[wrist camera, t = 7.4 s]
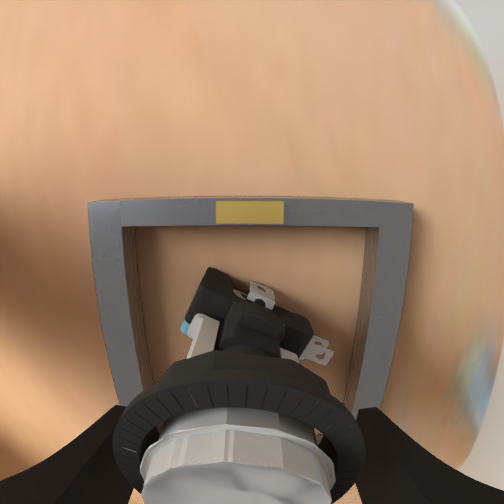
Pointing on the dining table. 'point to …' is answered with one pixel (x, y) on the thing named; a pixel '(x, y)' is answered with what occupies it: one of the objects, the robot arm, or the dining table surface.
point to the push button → (240, 411)
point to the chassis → (252, 213)
